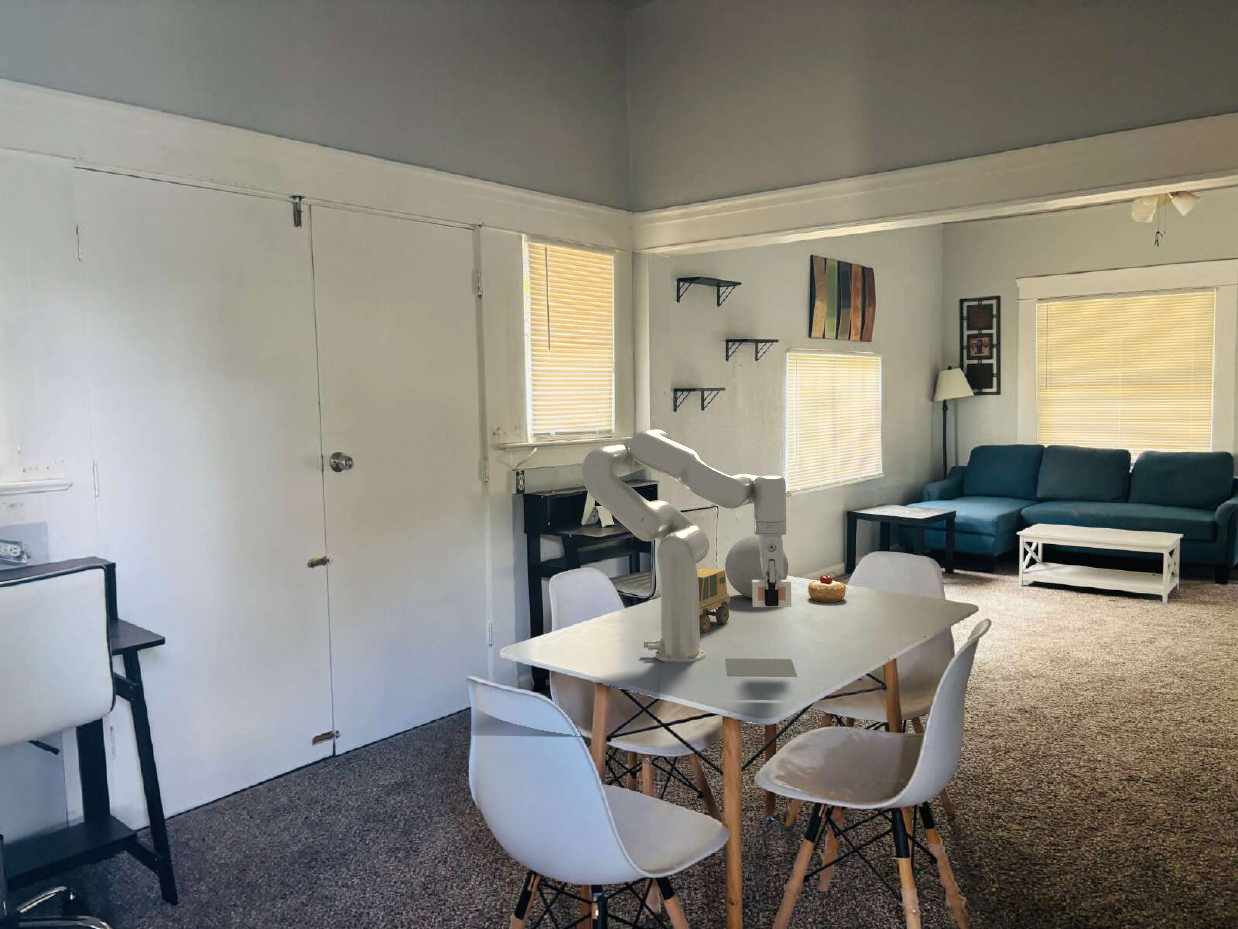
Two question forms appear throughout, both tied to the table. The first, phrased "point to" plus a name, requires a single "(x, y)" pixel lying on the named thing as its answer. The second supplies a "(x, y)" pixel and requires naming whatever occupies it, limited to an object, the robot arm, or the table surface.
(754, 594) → the card box
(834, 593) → the pastry
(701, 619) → the toy car
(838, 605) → the table surface
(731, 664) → the mat
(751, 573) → the ball
